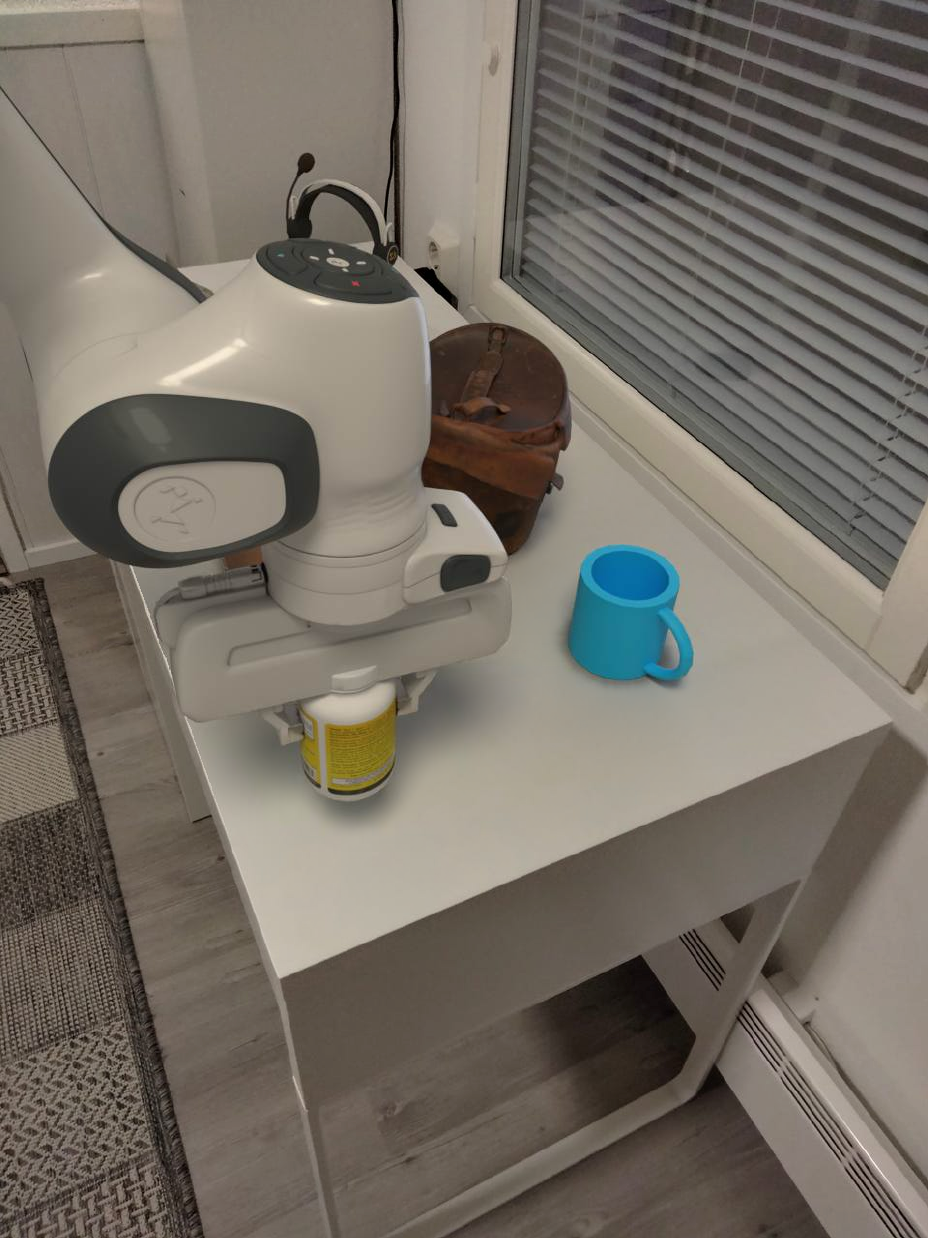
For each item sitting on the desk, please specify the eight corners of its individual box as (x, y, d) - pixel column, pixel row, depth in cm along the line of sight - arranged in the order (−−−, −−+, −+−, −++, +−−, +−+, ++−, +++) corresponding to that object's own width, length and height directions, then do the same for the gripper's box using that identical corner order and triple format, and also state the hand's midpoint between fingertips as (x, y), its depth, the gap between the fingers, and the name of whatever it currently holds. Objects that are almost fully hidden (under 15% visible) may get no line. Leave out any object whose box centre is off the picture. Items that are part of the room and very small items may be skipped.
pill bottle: (410, 753, 65) (415, 635, 58) (366, 818, 61) (366, 700, 53) (332, 721, 67) (327, 603, 59) (284, 783, 62) (272, 663, 55)
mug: (549, 637, 83) (560, 565, 78) (615, 604, 87) (630, 533, 82) (645, 722, 76) (664, 649, 71) (713, 681, 80) (736, 610, 75)
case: (419, 609, 85) (423, 436, 73) (354, 488, 99) (349, 326, 87) (594, 570, 91) (624, 403, 79) (510, 461, 104) (525, 304, 92)
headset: (274, 308, 130) (260, 153, 116) (309, 290, 135) (300, 139, 122) (376, 343, 124) (374, 182, 110) (408, 322, 129) (410, 166, 115)
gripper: (157, 627, 46) (192, 801, 55) (534, 550, 53) (510, 718, 62) (138, 551, 50) (174, 725, 59) (490, 489, 57) (473, 654, 66)
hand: (348, 721), depth 61 cm, fingers closed on pill bottle, 6 cm apart
